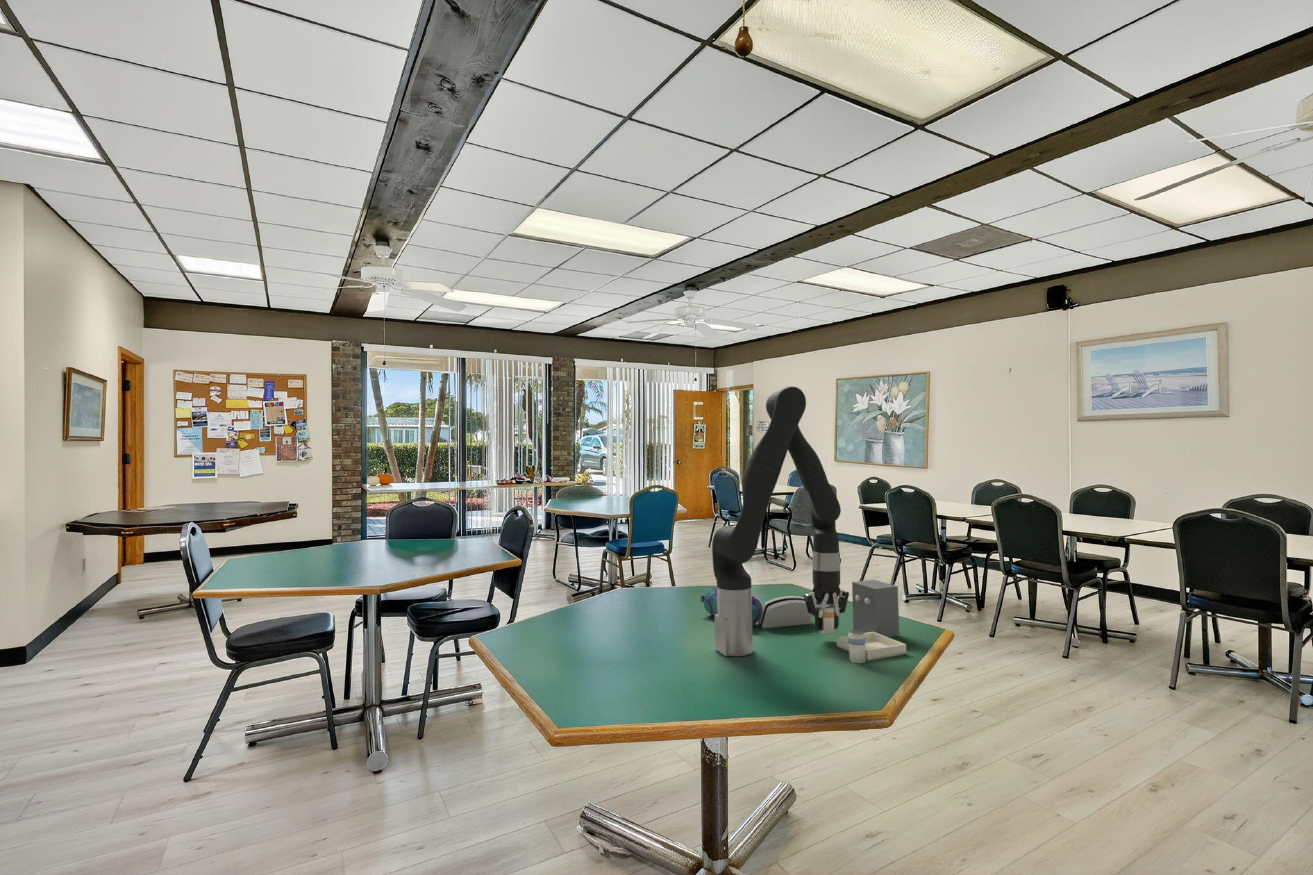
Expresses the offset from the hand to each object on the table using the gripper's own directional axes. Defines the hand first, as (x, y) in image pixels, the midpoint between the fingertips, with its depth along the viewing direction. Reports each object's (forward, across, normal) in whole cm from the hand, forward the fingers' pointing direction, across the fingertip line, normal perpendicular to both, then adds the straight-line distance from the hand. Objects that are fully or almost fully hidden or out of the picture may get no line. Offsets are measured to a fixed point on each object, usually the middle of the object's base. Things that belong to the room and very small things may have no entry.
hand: (826, 628), depth 172 cm
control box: (+3, -18, -1) cm, 18 cm away
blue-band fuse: (+3, +2, +16) cm, 17 cm away
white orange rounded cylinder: (+1, 0, 0) cm, 1 cm away
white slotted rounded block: (+4, +2, -18) cm, 19 cm away
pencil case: (+4, +15, -29) cm, 33 cm away
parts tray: (+3, -6, +11) cm, 13 cm away
